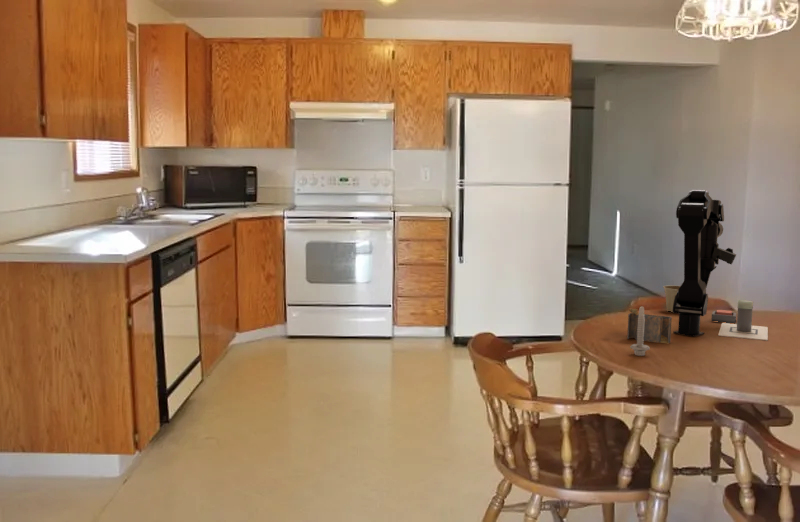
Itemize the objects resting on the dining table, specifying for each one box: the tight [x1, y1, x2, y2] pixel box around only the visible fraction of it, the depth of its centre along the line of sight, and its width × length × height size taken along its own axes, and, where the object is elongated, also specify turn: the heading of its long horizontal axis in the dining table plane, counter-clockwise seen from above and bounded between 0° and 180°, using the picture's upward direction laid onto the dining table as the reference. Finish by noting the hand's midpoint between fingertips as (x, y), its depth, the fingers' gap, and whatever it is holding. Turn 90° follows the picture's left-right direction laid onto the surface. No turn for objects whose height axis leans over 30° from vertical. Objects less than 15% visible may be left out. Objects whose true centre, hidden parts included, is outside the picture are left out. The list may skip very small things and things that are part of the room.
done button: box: [716, 309, 733, 316], centre depth 229 cm, size 4×4×2 cm
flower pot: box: [662, 284, 681, 313], centre depth 245 cm, size 9×9×9 cm
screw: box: [629, 306, 650, 357], centre depth 183 cm, size 13×5×5 cm
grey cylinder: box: [736, 299, 754, 332], centre depth 213 cm, size 4×4×9 cm
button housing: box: [711, 310, 737, 324], centre depth 230 cm, size 7×7×2 cm
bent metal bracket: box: [626, 307, 673, 345], centre depth 200 cm, size 11×3×10 cm, turn 60°
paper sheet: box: [717, 323, 769, 342], centre depth 214 cm, size 20×13×1 cm, turn 153°
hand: (704, 288), depth 225 cm, fingers closed
